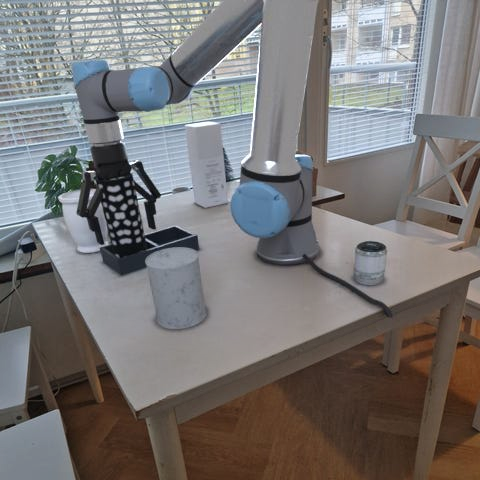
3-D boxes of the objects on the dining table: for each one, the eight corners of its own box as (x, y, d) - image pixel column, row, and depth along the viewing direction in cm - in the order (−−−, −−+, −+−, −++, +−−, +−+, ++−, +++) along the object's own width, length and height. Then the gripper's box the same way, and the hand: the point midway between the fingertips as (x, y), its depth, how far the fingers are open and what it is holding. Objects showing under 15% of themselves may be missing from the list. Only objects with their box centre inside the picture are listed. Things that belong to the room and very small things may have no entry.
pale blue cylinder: (207, 302, 87) (199, 245, 81) (205, 327, 79) (197, 266, 73) (160, 305, 88) (149, 249, 81) (154, 331, 79) (141, 270, 73)
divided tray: (199, 249, 112) (197, 234, 110) (121, 275, 102) (117, 260, 100) (177, 238, 120) (175, 225, 118) (103, 262, 110) (99, 247, 108)
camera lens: (380, 288, 87) (384, 251, 83) (349, 283, 90) (352, 248, 86) (386, 275, 92) (390, 240, 88) (357, 271, 94) (359, 237, 90)
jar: (72, 258, 114) (56, 201, 106) (74, 244, 122) (59, 191, 115) (113, 251, 116) (100, 195, 108) (112, 238, 124) (100, 186, 117)
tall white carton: (216, 197, 154) (209, 121, 141) (228, 203, 147) (221, 123, 134) (194, 202, 150) (184, 124, 137) (204, 208, 143) (195, 127, 130)
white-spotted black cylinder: (130, 267, 103) (110, 182, 93) (108, 261, 108) (87, 179, 97) (155, 255, 108) (140, 173, 98) (133, 249, 113) (116, 171, 103)
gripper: (150, 132, 103) (165, 219, 114) (44, 151, 90) (72, 246, 101) (165, 135, 97) (179, 225, 108) (54, 155, 85) (83, 254, 96)
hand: (127, 235), depth 105 cm, fingers open, 13 cm apart
